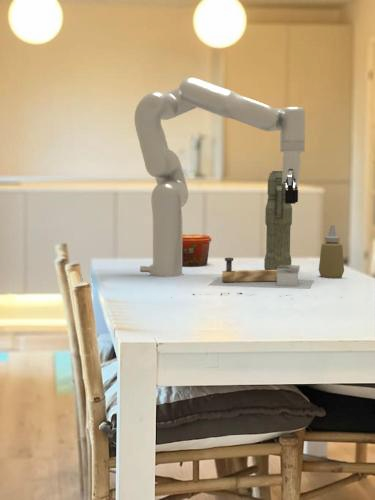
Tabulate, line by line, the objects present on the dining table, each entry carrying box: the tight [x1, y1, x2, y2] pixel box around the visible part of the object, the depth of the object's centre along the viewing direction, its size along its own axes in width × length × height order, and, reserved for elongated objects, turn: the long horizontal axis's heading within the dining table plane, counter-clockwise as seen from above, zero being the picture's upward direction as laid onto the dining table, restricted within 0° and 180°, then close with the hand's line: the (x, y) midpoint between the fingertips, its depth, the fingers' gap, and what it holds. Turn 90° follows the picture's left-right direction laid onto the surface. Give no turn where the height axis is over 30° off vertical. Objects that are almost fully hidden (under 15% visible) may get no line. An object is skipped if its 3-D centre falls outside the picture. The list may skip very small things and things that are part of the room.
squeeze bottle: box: [318, 224, 345, 279], centre depth 280 cm, size 8×8×18 cm
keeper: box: [277, 264, 300, 286], centre depth 262 cm, size 6×8×5 cm
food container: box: [182, 234, 212, 267], centre depth 323 cm, size 16×16×11 cm
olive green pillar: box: [263, 170, 293, 270], centre depth 291 cm, size 9×12×35 cm
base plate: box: [208, 276, 314, 290], centre depth 265 cm, size 30×19×2 cm, turn 79°
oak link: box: [221, 257, 277, 282], centre depth 268 cm, size 23×4×7 cm, turn 104°
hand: (291, 202), depth 272 cm, fingers open, 9 cm apart
